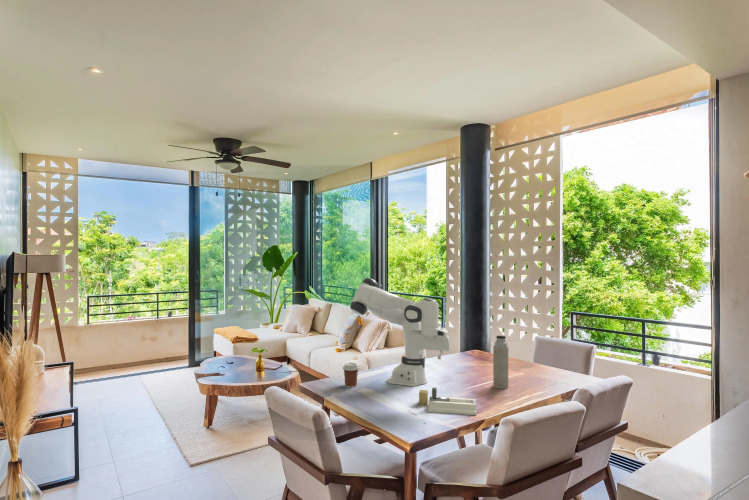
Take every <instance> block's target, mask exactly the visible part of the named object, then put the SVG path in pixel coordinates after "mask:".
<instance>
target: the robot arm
mask: <svg viewBox="0 0 749 500" xmlns="http://www.w3.org/2000/svg"><path fill="white" fill-rule="evenodd" d="M349 308H350V310H351V311H352V313H354V314H356V315H359V316H364V315H366V314H367V313H368V311H370V312H371V313H372V314H374V315H375V316H378V317H379V318H381V319H384V320H385V321H387V322H389V323H392V324H394V325H398V326H401V327H402V330H403V332H402V333H403V339H404V354H403V355H401V358H400V359H401V362H400V363H399V364H398V365H397V366H395V367H394V368H393V370H392V372H391V375H390V376H388V378H387V383H388V384H393V385H400V386H410V387H415V386H419V385H424V384H426V383H427V382H428V380H427V377H426V370H425V368H426V356H425V350H426V351H427V350H428V351H429V350H430V351H439V353H440V354H438V355H437V360H442V355H443V353H444V351H445V352H449V351H450V350H451V339H450V336H449V335H448V334H449V330H448V329H445V328H442V327H440V323H439V317H440V312H439V310H440V308H439V303H438V301H437V300H436V299H434V298H431V297H423V298H422V299H421V300H419V301H414V300H411V299H408V298H405V297H402V296H399V295H396V294H394V293H392V292H389V291H387V290H384V289H382V288H380V285H379V283H378V282H377V281H376V280H375V279H373V278H369V277H366V278H364V279H363V280H362V281H361V283H360V285H359V287H358V288H357V289H356V291H355V294H354V296H353V298H352V300H351V302H350V305H349Z"/></svg>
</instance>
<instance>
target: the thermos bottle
mask: <svg viewBox="0 0 749 500" xmlns="http://www.w3.org/2000/svg"><path fill="white" fill-rule="evenodd" d="M492 348H493V358H492V359H493V362H492V363H493V376H492V377H493V383H492V384H493V385H492V386H493V387H494V388H496V389H500V390H501V389H508V388H509V346H508V342H507V341H506V336H505V335H496V339H495V341H494V345H493V347H492Z"/></svg>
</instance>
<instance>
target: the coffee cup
mask: <svg viewBox="0 0 749 500" xmlns="http://www.w3.org/2000/svg"><path fill="white" fill-rule="evenodd" d="M359 369H360V367H359V366H358V364H357V363H355V362H346V363H345V364H344V366H342V370H343V373H344V374H343V375H344V386H345V387H346V386H347V387H346V388H350V387H352V388H356V387H357V385H358V371H359Z"/></svg>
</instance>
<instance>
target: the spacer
mask: <svg viewBox="0 0 749 500" xmlns="http://www.w3.org/2000/svg"><path fill="white" fill-rule="evenodd" d="M428 401H429V390H427V389H419V391H418V405H421V406H428Z"/></svg>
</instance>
